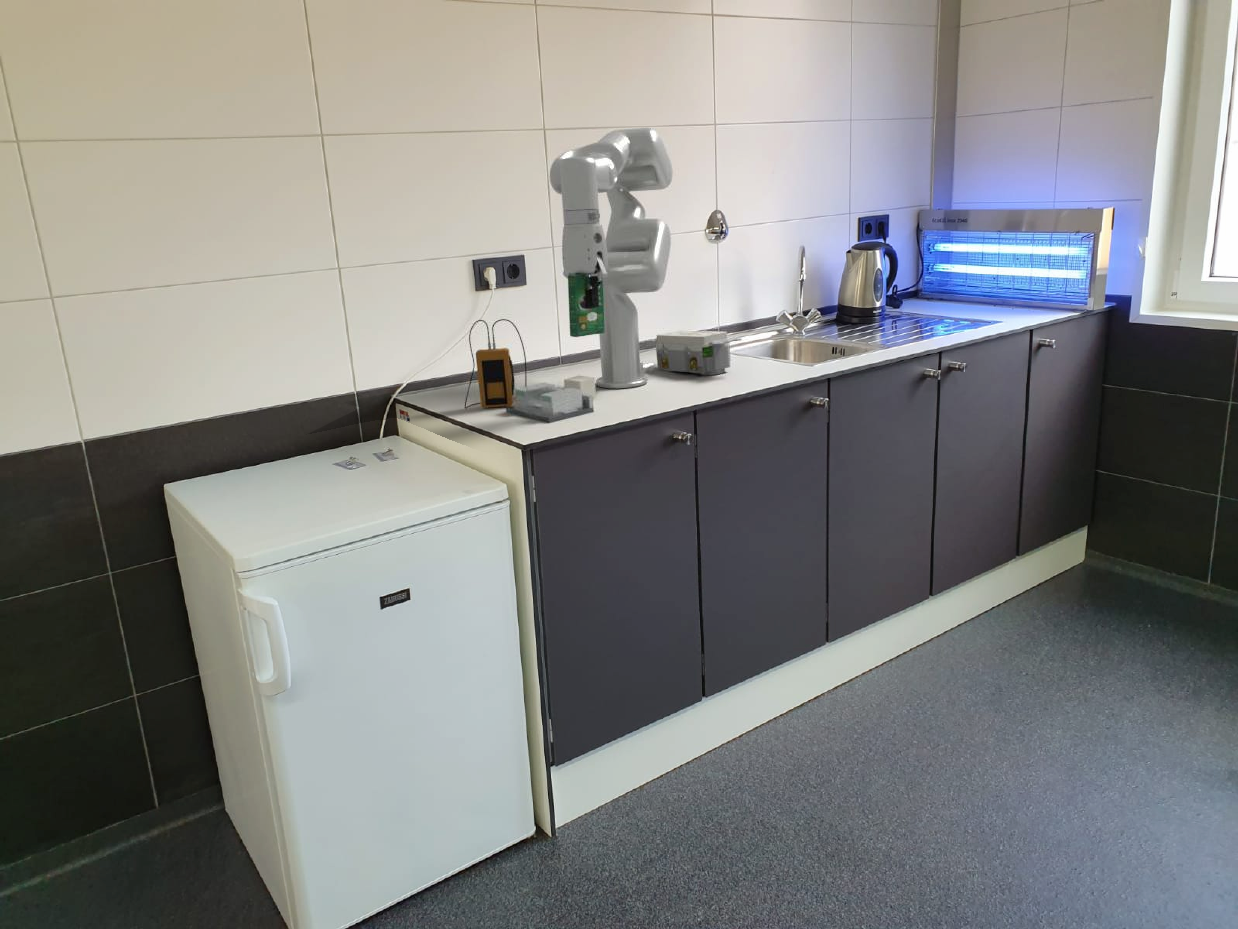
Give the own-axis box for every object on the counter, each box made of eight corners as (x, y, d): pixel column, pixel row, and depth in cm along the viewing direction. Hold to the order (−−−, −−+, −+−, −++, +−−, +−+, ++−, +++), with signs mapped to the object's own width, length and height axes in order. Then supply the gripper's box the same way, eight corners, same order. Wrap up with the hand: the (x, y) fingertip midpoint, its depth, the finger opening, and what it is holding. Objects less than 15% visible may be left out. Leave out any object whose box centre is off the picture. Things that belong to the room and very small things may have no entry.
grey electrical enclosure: (716, 379, 223) (713, 338, 221) (641, 372, 245) (638, 335, 243) (750, 371, 230) (747, 331, 227) (674, 365, 252) (671, 329, 250)
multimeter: (531, 396, 218) (524, 312, 213) (529, 406, 209) (521, 317, 203) (469, 400, 218) (460, 315, 212) (464, 410, 209) (455, 321, 203)
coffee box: (597, 332, 203) (594, 271, 199) (606, 333, 201) (603, 271, 197) (569, 336, 198) (565, 274, 194) (577, 337, 195) (574, 274, 192)
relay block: (579, 396, 216) (578, 375, 215) (595, 398, 213) (594, 377, 211) (565, 400, 212) (563, 379, 211) (581, 403, 209) (580, 381, 208)
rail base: (549, 401, 212) (547, 380, 210) (593, 411, 200) (592, 389, 199) (506, 411, 204) (504, 389, 203) (549, 422, 193) (547, 399, 191)
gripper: (621, 217, 189) (625, 307, 194) (569, 218, 201) (575, 303, 206) (594, 219, 184) (599, 311, 189) (543, 220, 196) (549, 307, 201)
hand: (586, 306), depth 197 cm, fingers closed on coffee box, 3 cm apart
